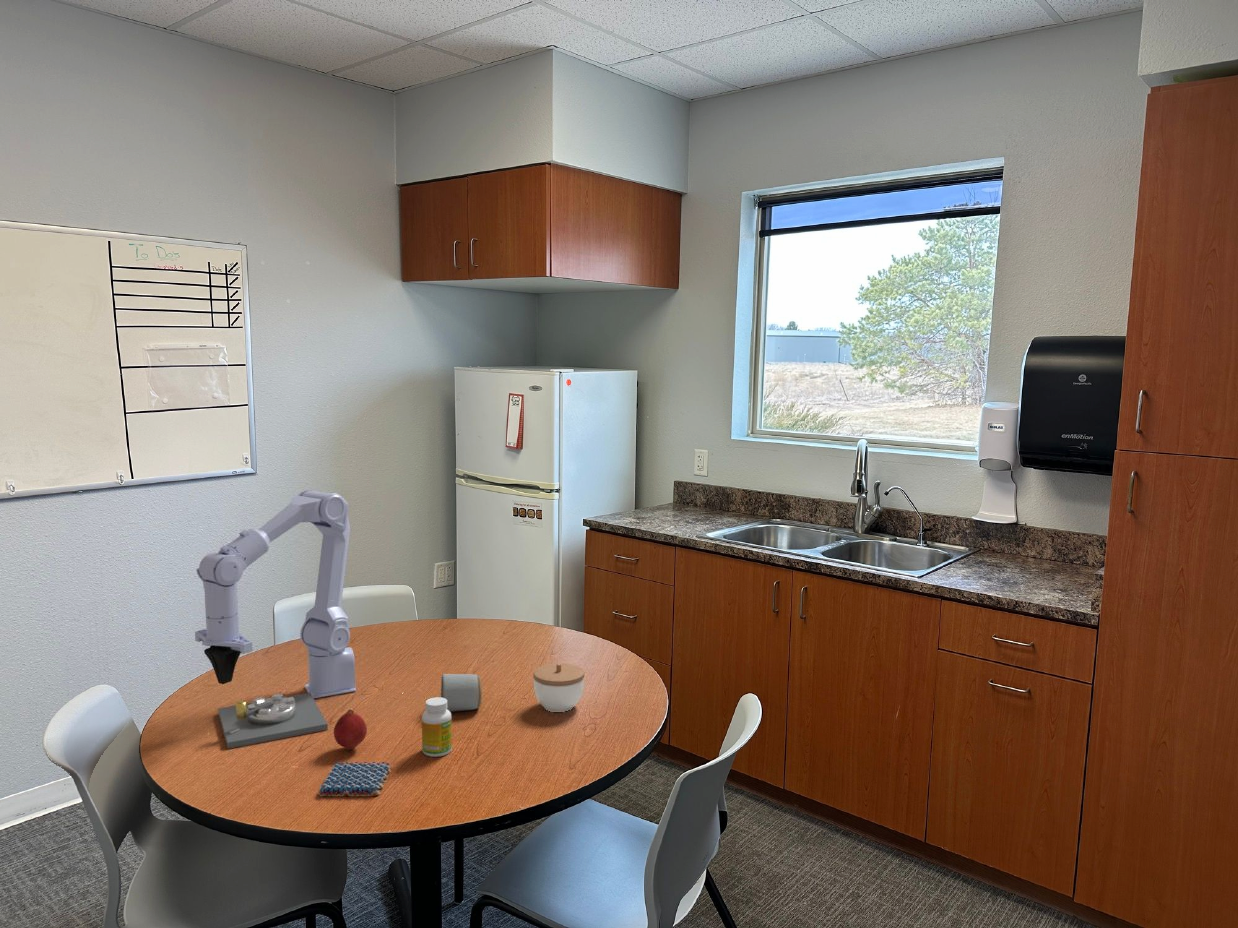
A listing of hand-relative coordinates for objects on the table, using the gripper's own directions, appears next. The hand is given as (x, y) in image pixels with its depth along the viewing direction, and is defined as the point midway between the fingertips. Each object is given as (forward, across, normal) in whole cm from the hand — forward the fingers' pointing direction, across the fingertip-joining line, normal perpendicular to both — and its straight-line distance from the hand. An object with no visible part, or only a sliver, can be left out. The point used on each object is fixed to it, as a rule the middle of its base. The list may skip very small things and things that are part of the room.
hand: (225, 681), depth 170 cm
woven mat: (+10, +38, -3) cm, 40 cm away
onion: (+10, +28, +5) cm, 30 cm away
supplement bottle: (+10, +42, +13) cm, 45 cm away
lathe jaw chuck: (+8, +5, +5) cm, 11 cm away
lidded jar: (+10, +50, +42) cm, 66 cm away
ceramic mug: (+10, +32, +32) cm, 46 cm away
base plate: (+9, +5, +6) cm, 12 cm away
